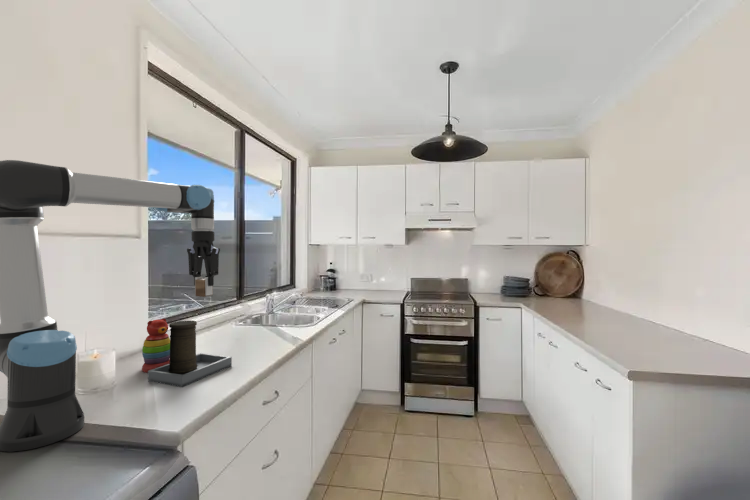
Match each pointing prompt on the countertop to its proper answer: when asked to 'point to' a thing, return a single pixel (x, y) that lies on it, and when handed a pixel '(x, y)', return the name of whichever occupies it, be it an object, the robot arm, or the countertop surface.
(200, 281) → the walnut block
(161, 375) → the tray
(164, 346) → the stacking bear
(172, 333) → the container
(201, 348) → the countertop surface
